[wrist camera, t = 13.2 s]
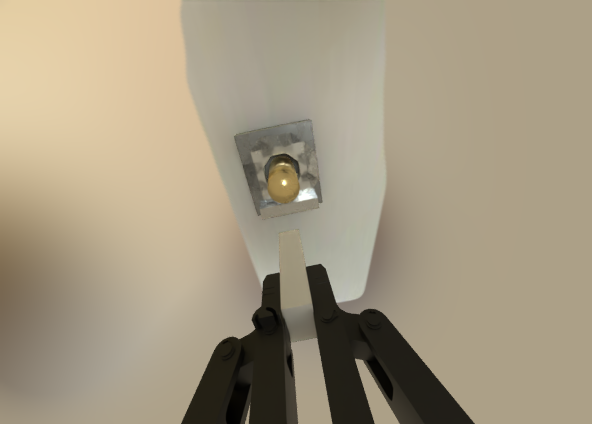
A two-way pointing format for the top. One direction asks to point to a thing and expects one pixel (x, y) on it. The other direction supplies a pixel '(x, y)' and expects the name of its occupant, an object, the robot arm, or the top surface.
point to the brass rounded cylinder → (283, 180)
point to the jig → (273, 142)
